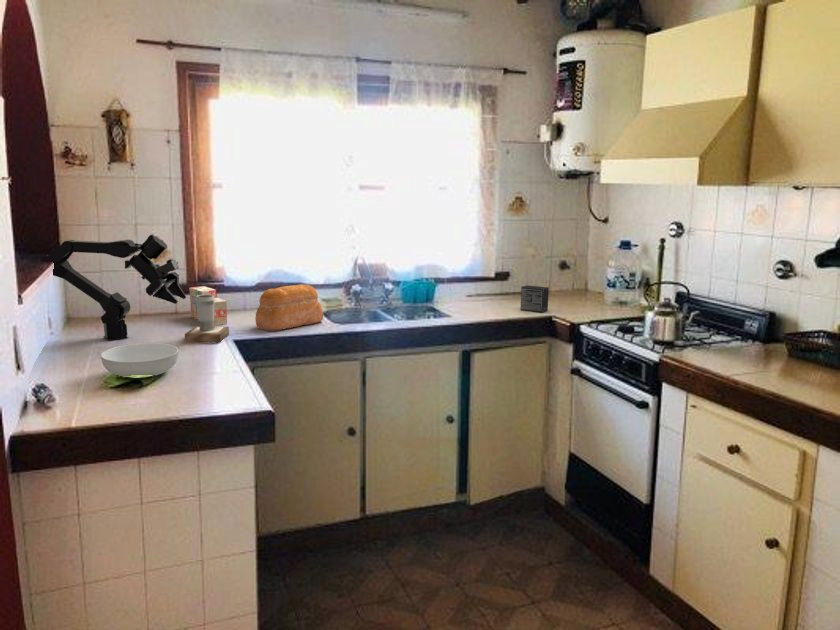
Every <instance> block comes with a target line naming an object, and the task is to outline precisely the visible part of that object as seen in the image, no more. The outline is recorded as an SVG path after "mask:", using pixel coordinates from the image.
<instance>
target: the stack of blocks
mask: <svg viewBox="0 0 840 630" xmlns="http://www.w3.org/2000/svg"><path fill="white" fill-rule="evenodd" d="M217 292H218V291H217V289H214V288H211V287H207V286H205V285H204V286H203V285H202V286H193V287H189V301H190V316H191V318H193V317H194V318H193V319H195V320H197V319H198V314H197V301H195V299H196V296H198V295H214V298H215V300H214V327H216V326H223V325H228V310H227V309H228V303H227V300H225V299H222V298H219V297H217V296H218V295H217ZM222 324H223V325H222ZM215 325H216V326H215Z"/></svg>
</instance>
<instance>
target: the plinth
mask: <svg viewBox="0 0 840 630" xmlns="http://www.w3.org/2000/svg"><path fill="white" fill-rule="evenodd" d="M229 335H230V328H229V326H214V329H213V330H211V331H200V327H199V326H193V327H192V328H191V329H190V330H188V331H186V332H185V333H184V343H185V344H186V343H187V344H189V343H193V344H195V343H197V344H198V343H199V344H200V343H204V344H206V343H208V342H221V341H222V340H223V339H224V338H225V337H226V338H228V336H229ZM226 338H225V339H226ZM225 339H224V340H225ZM224 340H223V341H224ZM223 341H222V342H223ZM222 342H221V343H222Z"/></svg>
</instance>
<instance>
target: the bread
mask: <svg viewBox="0 0 840 630" xmlns="http://www.w3.org/2000/svg"><path fill="white" fill-rule="evenodd" d="M318 295H319V294H318V291H317V290H316V289H315V288H314V286H311V285H308V284H303V283H301V284H296V285H286V286H285V285H284V286H280V287H276V288H269V289H265V291H263V293H262V294H261V295H260V298H259V306H258V308H257V310H256V312H255V324H256V325H255V326H256V327H257V328H258V329H260V330H264V329H265V330H266V331H271V330H277V331H282V329H283V330H286V328H287V329H291V328H292V329H294V328H297V327H301V326H308V325H312V324H316V323H320V322H322V321H323V320H324V311H323V307H322V304H321V303H320V302H319V300H318V298H319V296H318ZM293 327H294V328H293ZM265 330H264V331H265Z"/></svg>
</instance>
